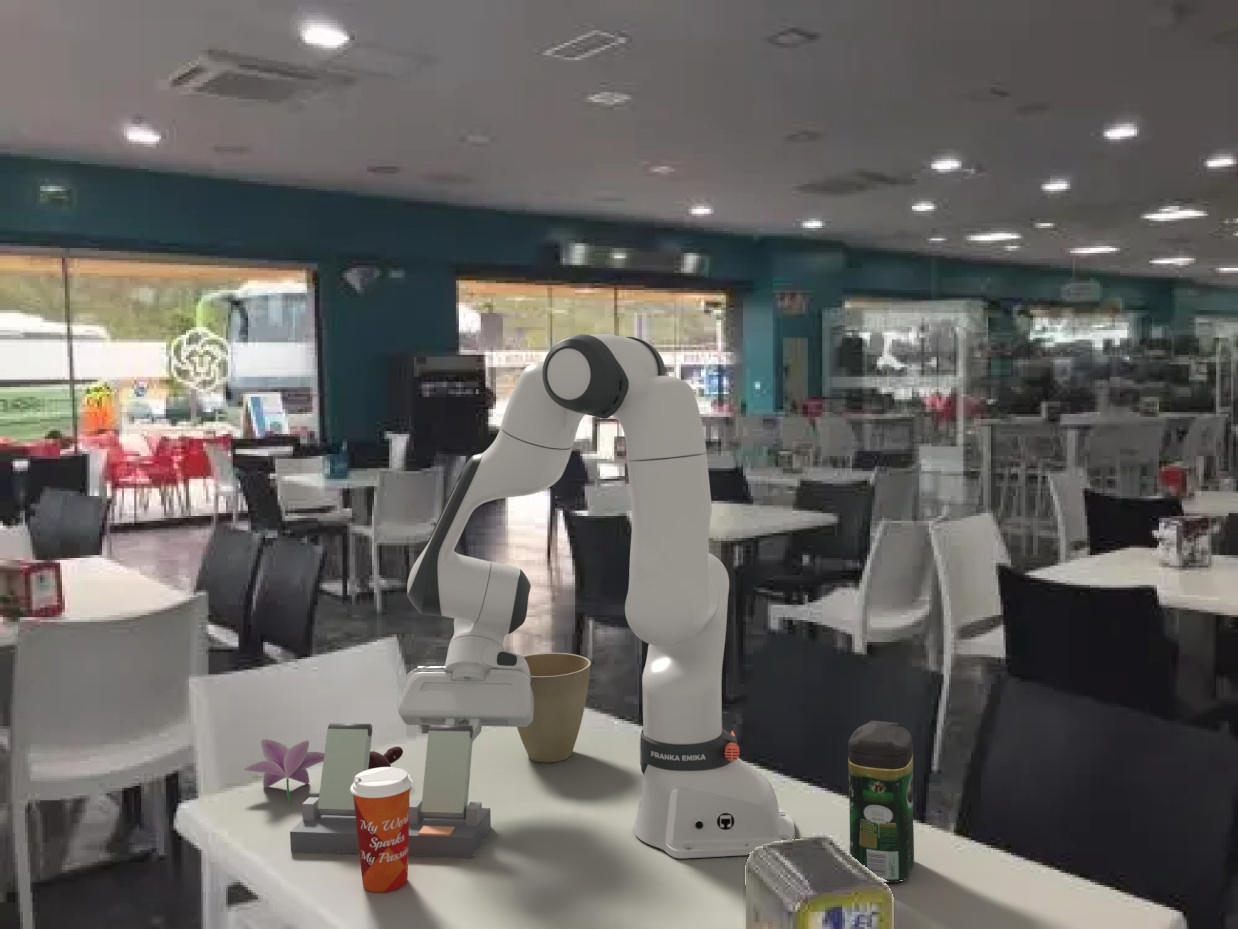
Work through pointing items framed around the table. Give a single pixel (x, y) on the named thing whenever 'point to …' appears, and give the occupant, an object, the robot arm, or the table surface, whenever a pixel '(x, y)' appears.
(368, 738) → the lever
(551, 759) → the plant pot
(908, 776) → the coffee jar
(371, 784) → the paper cup
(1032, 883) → the table surface
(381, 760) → the icecream
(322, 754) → the lily
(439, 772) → the lever
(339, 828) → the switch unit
